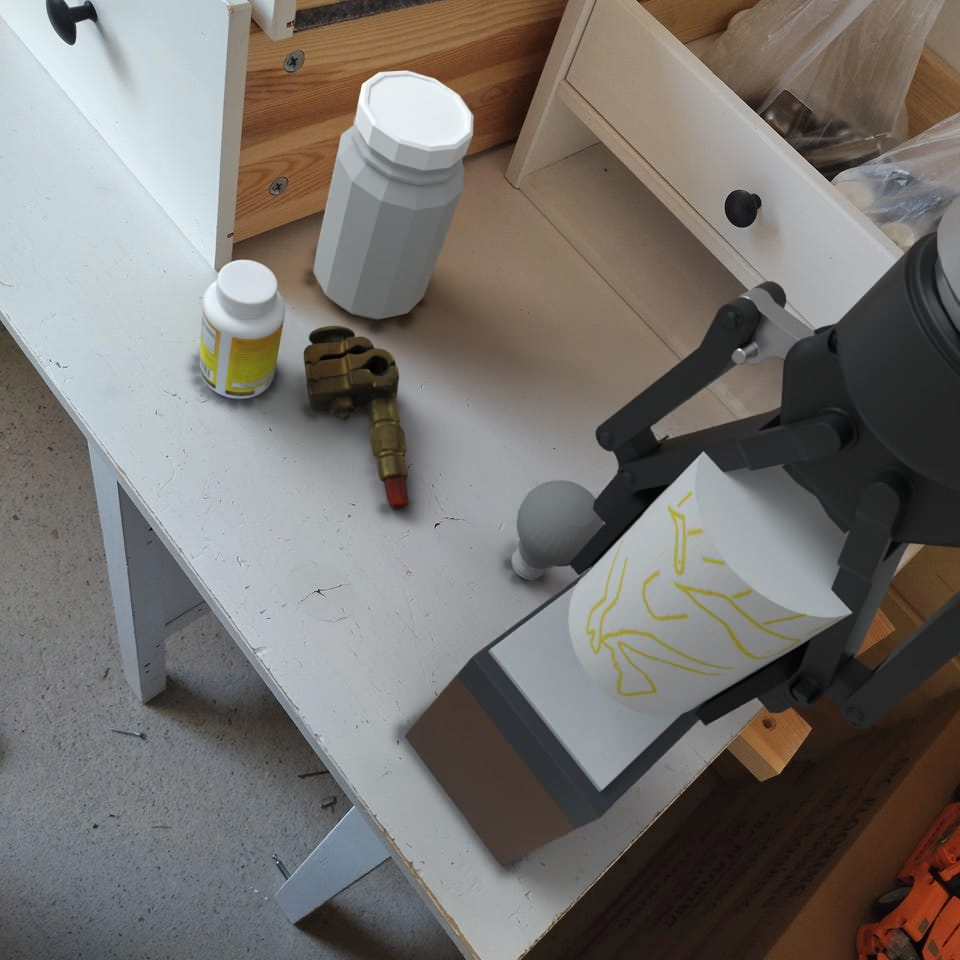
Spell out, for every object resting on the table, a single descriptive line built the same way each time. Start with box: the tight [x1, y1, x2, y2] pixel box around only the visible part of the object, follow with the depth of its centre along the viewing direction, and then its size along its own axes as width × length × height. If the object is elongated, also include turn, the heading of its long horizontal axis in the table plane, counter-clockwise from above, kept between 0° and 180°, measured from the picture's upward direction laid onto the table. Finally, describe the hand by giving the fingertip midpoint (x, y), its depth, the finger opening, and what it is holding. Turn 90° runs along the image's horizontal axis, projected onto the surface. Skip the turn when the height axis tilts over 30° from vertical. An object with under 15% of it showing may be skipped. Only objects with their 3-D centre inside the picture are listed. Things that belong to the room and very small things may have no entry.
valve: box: [303, 325, 410, 510], centre depth 68 cm, size 7×15×5 cm, turn 21°
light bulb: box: [511, 479, 605, 580], centre depth 63 cm, size 6×6×10 cm
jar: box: [312, 70, 474, 321], centre depth 70 cm, size 10×10×18 cm
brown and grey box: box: [404, 569, 706, 866], centre depth 53 cm, size 10×10×15 cm
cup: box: [568, 451, 852, 716], centre depth 38 cm, size 8×8×12 cm
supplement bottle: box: [198, 259, 286, 400], centre depth 64 cm, size 6×6×10 cm
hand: (653, 627), depth 42 cm, fingers closed on cup, 8 cm apart
